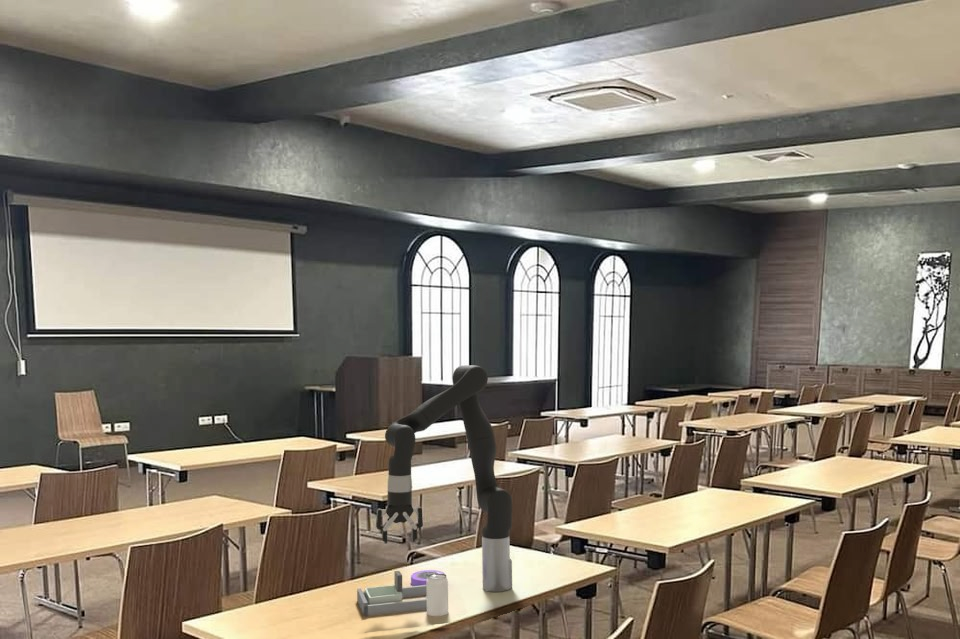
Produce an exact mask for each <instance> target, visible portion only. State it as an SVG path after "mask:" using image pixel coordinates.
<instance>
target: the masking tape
mask: <svg viewBox="0 0 960 639" xmlns="http://www.w3.org/2000/svg"><path fill="white" fill-rule="evenodd" d="M434 573H442V574H445V575H446V573H445V572H443V571H440V570H435V569H429V570H428V569H426V570H419V571H415V572H413V573H411V575H410V584H411V585H412V586H420V585H426V582H427V579H428V575H430V574H434Z"/></svg>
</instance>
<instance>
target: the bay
mask: <svg viewBox="0 0 960 639" xmlns="http://www.w3.org/2000/svg"><path fill="white" fill-rule="evenodd" d="M356 592H357V593H356V595H357V598H356V600H357V604H358V607H359V608H360V611H361V613H362V616H363V617H371V616H372V617H373V616H378V615H388V614H397V613H406V612H407V613H408V612H413V611H415V612H417V611H422V610H424V611H425V610H427V597H426V598H418V599H409V600H402V601H399V602H389V603H380V604H371V605H368V602H367V600H366V598H365V590H364V591H363V589H362V587H361V588H357V590H356ZM401 593H402V599H403V598H413V597H420V596H427V592H426V585H420V586H414V585H412V586H411V585H410V586H404V587H403V586H402V592H401Z"/></svg>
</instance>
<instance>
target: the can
mask: <svg viewBox="0 0 960 639" xmlns="http://www.w3.org/2000/svg"><path fill="white" fill-rule="evenodd" d="M426 592H427V595H426V598H427V609H426V614H427V615H428V616H430V617H442V616H446V615H447V614H449V581H448V578H447V574H446V573H445V574H442V573H434V574H430V575H428V579H427V582H426Z"/></svg>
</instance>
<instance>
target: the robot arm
mask: <svg viewBox="0 0 960 639" xmlns="http://www.w3.org/2000/svg"><path fill="white" fill-rule="evenodd" d="M488 381H489V376H488V373H487V371H486V370H485V369H484V368H483V367H481V366H479V365H474V364H473V365H470V364H469V365H468V364H467V365H459V366H457V367H456V368H455V369H454V371H453V373H452V386H450V387H448V388H447V389H446V390H444V391H442V392H440V393H438V394H436V395H434V396H432V397H431V398H429V399H428V400H426V401H424V402H423V403H422V404H420V405H419V406H418V407H416V408H415V409H414V410H413V411H411V413H409V414H406V415H405V416H402V417H401V418H399V419H397V420H396V421H394V422H393V423H391V424H390V425H389V426H388V427H387V429H386V431H385V433H384V439H385V442H387V443H386V444H388V445H390V446H392V447H394V452H393V455H391V456H390V457H389V458H388V474H387V475H388V478H387V504H386V505H387V506H386V508H385V509H384V508H383V509H382V508H380V507H379V508H377V510H376V522H375V523H376V524H375V527H376V529H377V530H378V531H381V540H382V542H383V543H384V544H388V529H389V527H390V526H392V524H393V523H394V524H398V523H399V524H400V523H402V524H403V523H406V522H408V523H409V525H410V527H411V542H412V543H413V542H414V543H415V541H416V540H417V539H418V529H419V528H423V526H424V521H423V508H422V507H421V506H419V505H418V506H417V507H413V505H412V504H413V480H412V458H413V455H414V452H415V451H414V450H415V447H416V433H419V432H424V431H425V430H427V429H428V428H429V427H431V426H432V425H433V424H434V423H435V422H437V421H438V420H439V419H441V417H443V416H444V415H445V414H446V413H448V412H449V411H450V410H453V409H454V408H455V407H457V406H459V408H460V412H461V416H462V417H461V418H462V423H463V426H464V432H465V435H466V436H465V437H466V440H467V447H468V451H469V455H470V459H471V465H472V469H473V473H474V479H475V480H474V481H475V488H476V489H475V490H476V500H477V504H478V507H479V508H480V510H481V511H482V512H483V513H485V514H487V521H486V522H487V523H486V525H484V526H483V527H482V528H481V541H482V542H481V552H482V553H481V554H482V555H481V560H482V562H481V563H482V567H481V568H482V572H481V573H482V589H483V590H485V591H486V592H493V593H499V592H506V591H509V590H512V589H513V560H512V559H511V558H510V557H511V554H510V553H511V549H510V548H511V547H510V534H511V533H510V532H511V529H512V525H513V500H512V499H513V498H512V496H511V494H510V492H509V491H508V490H506V489H503V488H501V487H499V486H498V484H497V479H496V476H495V461H496V455H497V444H496V437H495V435H494V434H495V433H494V429H493V425H492V424H491V423H490V420H489V419H488V417H487V415H486V414H485V412H484V410H483V409H482V406H481V405H480V401H479V397H478V393H480V392H481V391H483V390H484V389H485V388H486V386H487V385H488ZM414 513H415V515H416V516H417V523H415V522H414V520H412V518H411V516H412V514H414ZM385 514H386V515H387V519H386V520H385V522H384V523H383V525H382V517H384V516H385Z"/></svg>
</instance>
